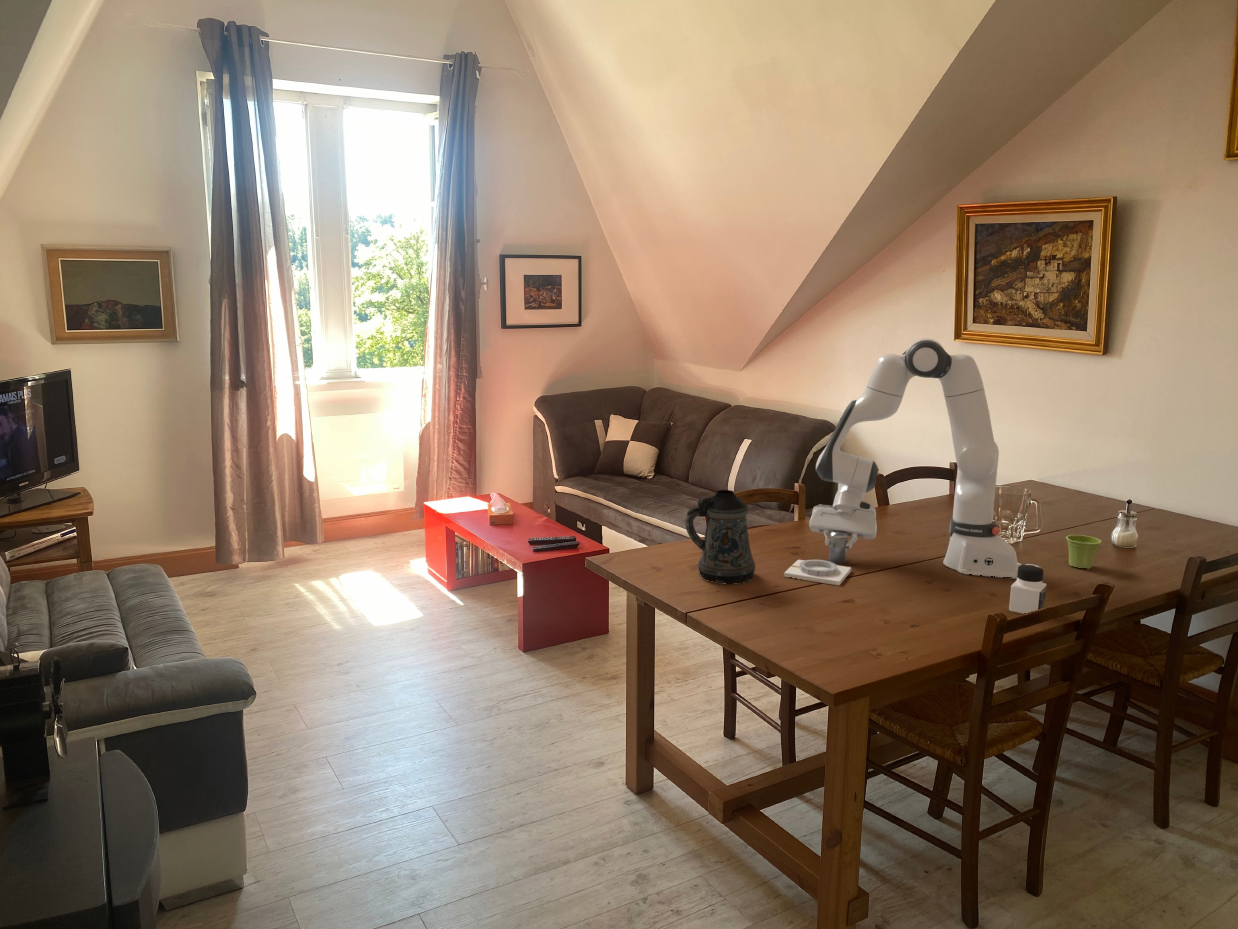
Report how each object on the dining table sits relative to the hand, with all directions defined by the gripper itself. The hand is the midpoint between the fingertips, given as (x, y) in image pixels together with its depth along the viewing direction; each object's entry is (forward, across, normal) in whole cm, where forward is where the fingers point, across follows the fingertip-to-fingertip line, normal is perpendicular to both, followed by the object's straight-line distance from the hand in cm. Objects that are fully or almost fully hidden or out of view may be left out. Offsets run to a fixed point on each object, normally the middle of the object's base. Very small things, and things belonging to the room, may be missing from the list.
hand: (837, 546), depth 274 cm
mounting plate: (+14, -2, -7) cm, 15 cm away
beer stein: (+24, -26, -17) cm, 40 cm away
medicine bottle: (+16, +54, -9) cm, 57 cm away
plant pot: (-17, +66, +25) cm, 73 cm away
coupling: (+3, 0, +4) cm, 5 cm away
